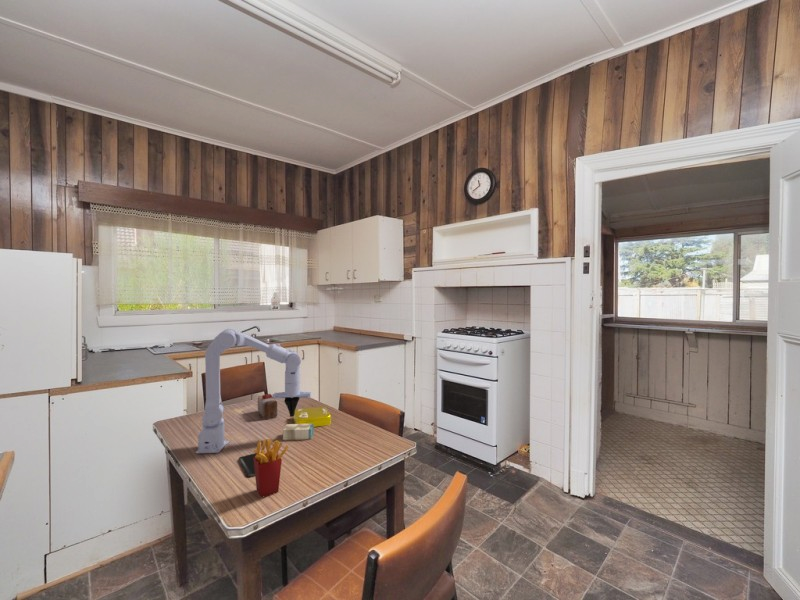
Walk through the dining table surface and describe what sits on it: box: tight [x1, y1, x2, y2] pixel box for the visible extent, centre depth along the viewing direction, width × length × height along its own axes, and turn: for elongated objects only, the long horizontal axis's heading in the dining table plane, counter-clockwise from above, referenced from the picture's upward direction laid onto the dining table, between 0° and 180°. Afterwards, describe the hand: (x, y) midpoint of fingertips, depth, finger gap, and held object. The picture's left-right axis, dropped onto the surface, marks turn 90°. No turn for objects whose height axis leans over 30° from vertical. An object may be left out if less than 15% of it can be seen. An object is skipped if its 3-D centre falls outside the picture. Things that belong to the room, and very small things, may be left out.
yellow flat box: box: [293, 406, 332, 428], centre depth 158 cm, size 15×15×5 cm
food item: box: [256, 393, 279, 420], centre depth 166 cm, size 14×8×10 cm, turn 35°
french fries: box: [253, 438, 290, 498], centre depth 103 cm, size 9×8×15 cm
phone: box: [238, 451, 261, 479], centre depth 117 cm, size 8×1×15 cm
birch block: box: [282, 423, 315, 441], centre depth 141 cm, size 6×4×11 cm
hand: (292, 415), depth 141 cm, fingers closed
